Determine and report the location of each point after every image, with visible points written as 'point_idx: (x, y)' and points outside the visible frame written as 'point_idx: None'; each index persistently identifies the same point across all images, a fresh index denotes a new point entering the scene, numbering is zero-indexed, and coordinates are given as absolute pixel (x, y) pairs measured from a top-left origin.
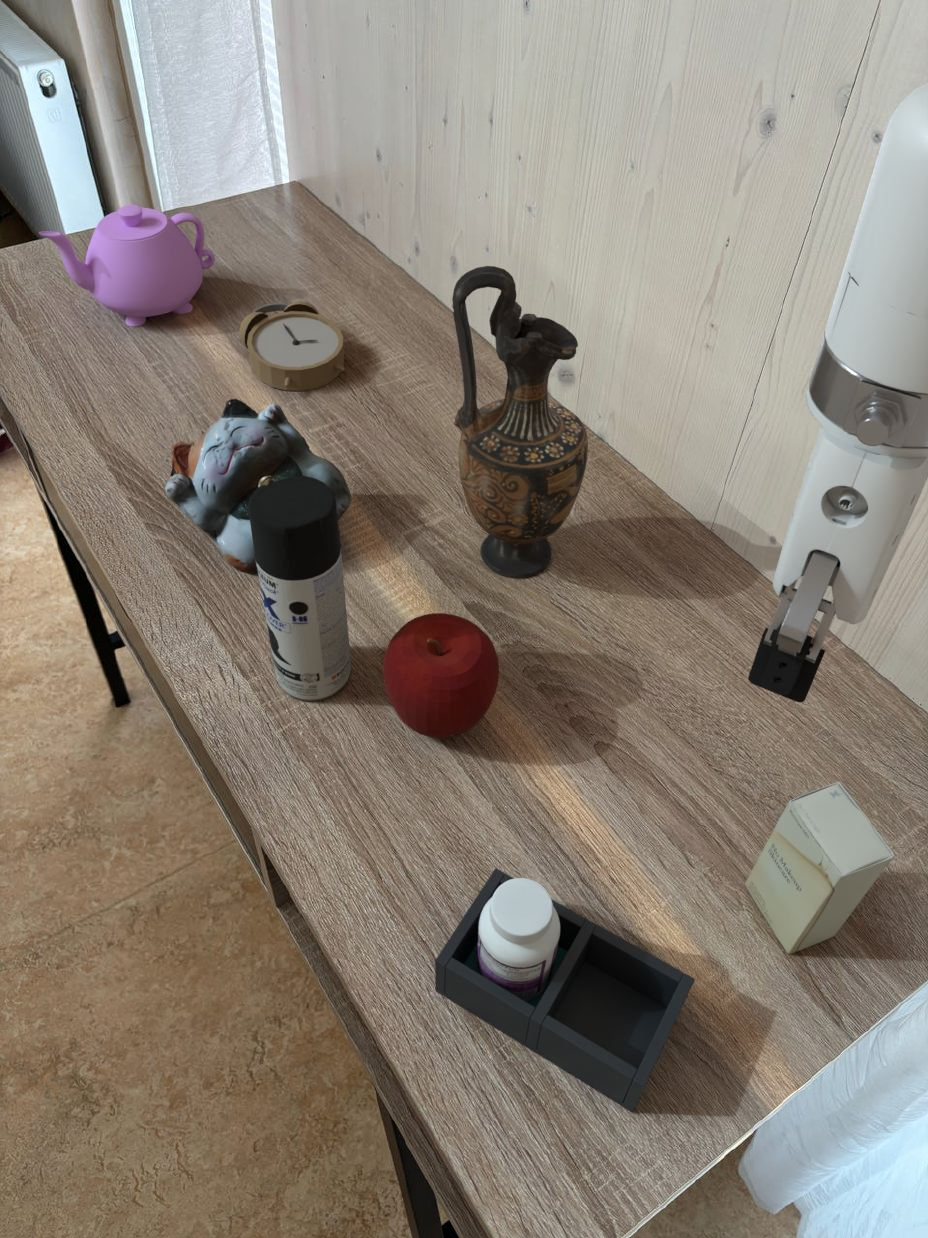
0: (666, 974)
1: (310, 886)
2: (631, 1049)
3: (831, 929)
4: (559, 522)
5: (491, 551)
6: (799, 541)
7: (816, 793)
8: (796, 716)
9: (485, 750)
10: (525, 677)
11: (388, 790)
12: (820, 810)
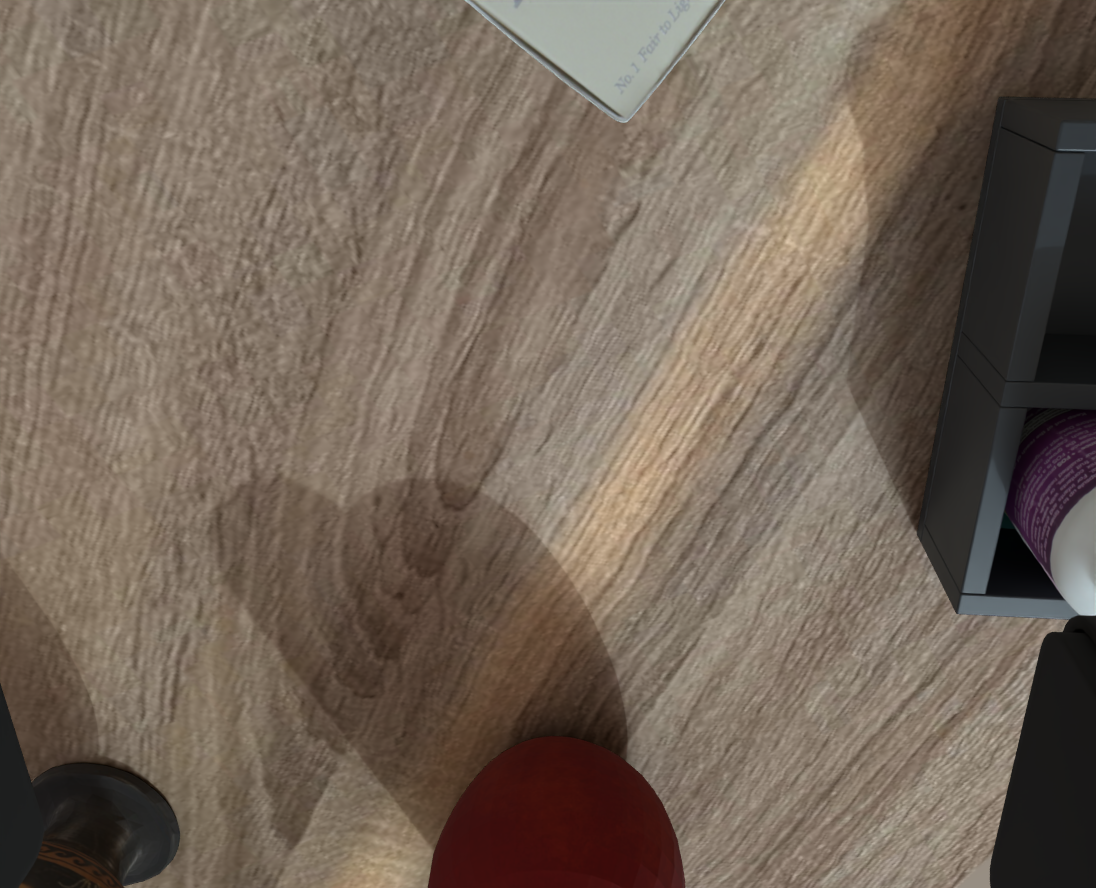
0: (1075, 189)
1: None
2: None
3: None
4: None
5: (141, 867)
6: None
7: (544, 48)
8: (79, 128)
9: (595, 679)
10: (384, 687)
11: (773, 780)
12: (605, 13)
